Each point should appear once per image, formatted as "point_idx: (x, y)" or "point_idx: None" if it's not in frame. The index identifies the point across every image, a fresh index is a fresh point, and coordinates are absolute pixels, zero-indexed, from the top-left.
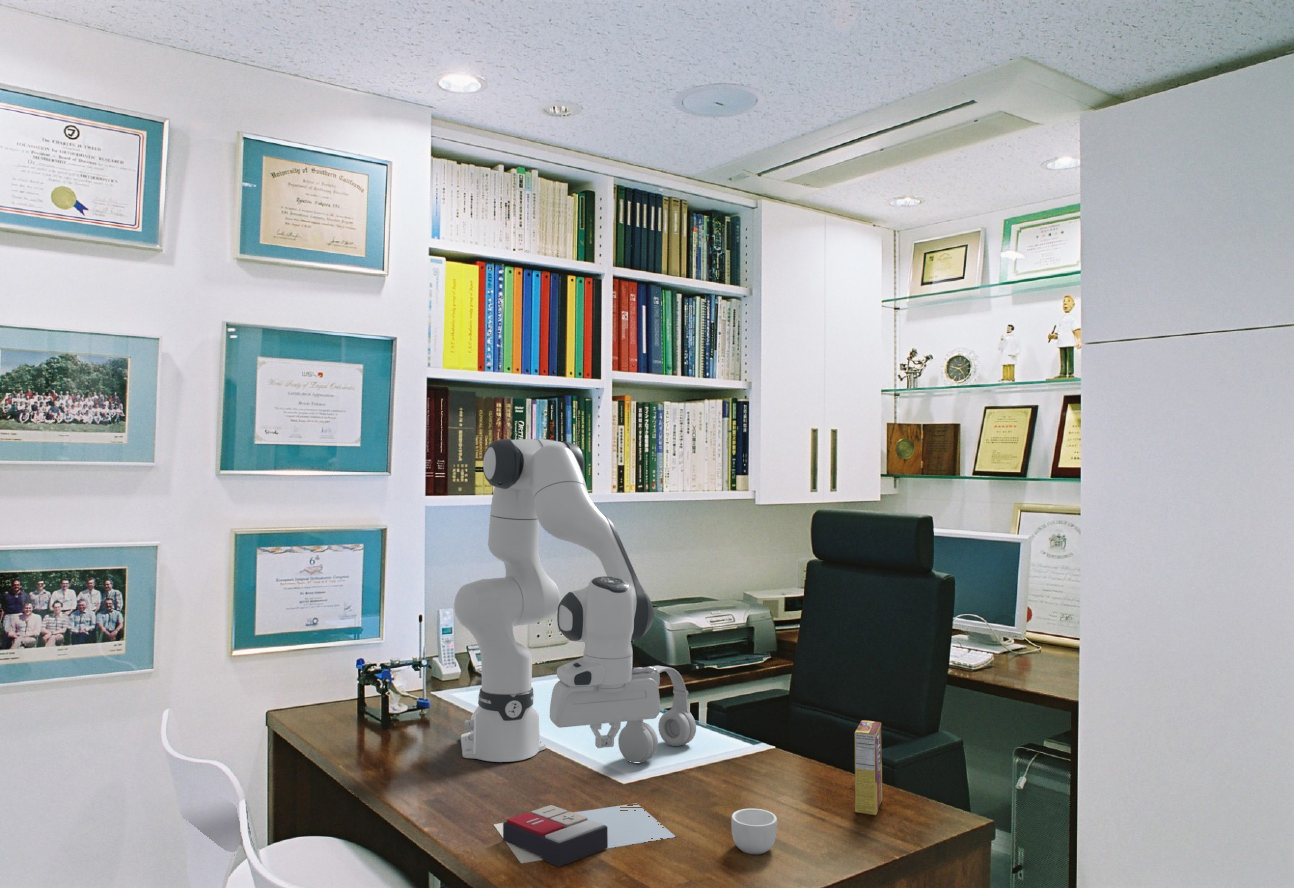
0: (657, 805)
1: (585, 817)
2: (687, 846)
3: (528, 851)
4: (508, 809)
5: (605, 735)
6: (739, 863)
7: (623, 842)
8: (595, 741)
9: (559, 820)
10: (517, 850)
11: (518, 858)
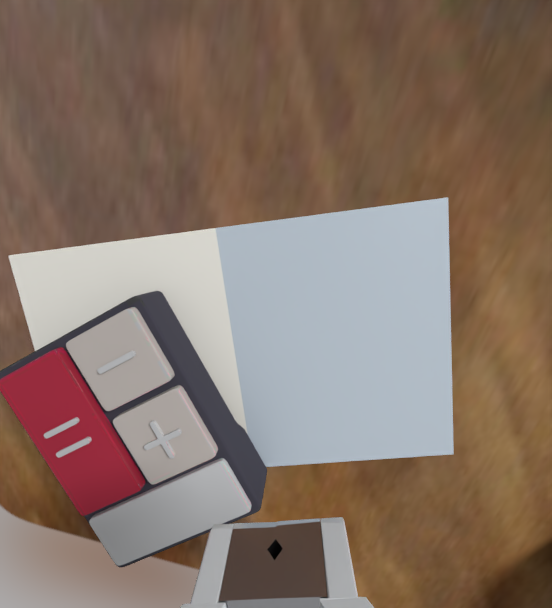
0: (505, 231)
1: (210, 453)
2: (454, 505)
3: None
4: (49, 149)
5: (296, 605)
6: (523, 604)
7: (313, 448)
8: (206, 549)
9: (135, 448)
10: None
11: None
